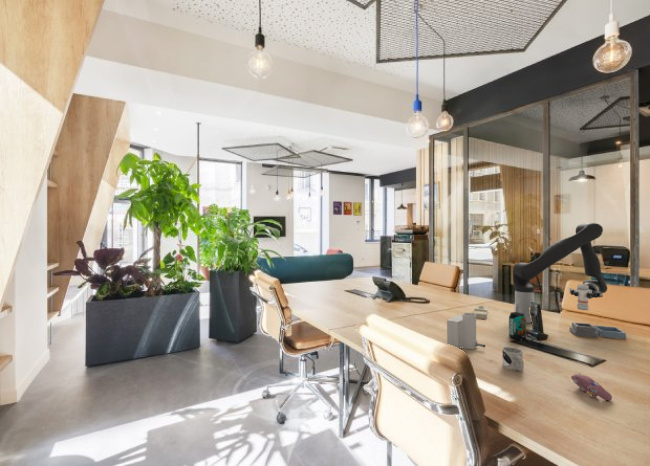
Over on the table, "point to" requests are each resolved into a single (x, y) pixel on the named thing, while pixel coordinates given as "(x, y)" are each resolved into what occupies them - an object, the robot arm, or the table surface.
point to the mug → (513, 358)
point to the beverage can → (517, 325)
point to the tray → (609, 332)
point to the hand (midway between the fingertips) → (581, 295)
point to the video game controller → (591, 386)
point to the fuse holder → (583, 330)
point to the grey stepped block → (462, 331)
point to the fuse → (582, 297)
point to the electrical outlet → (481, 311)
